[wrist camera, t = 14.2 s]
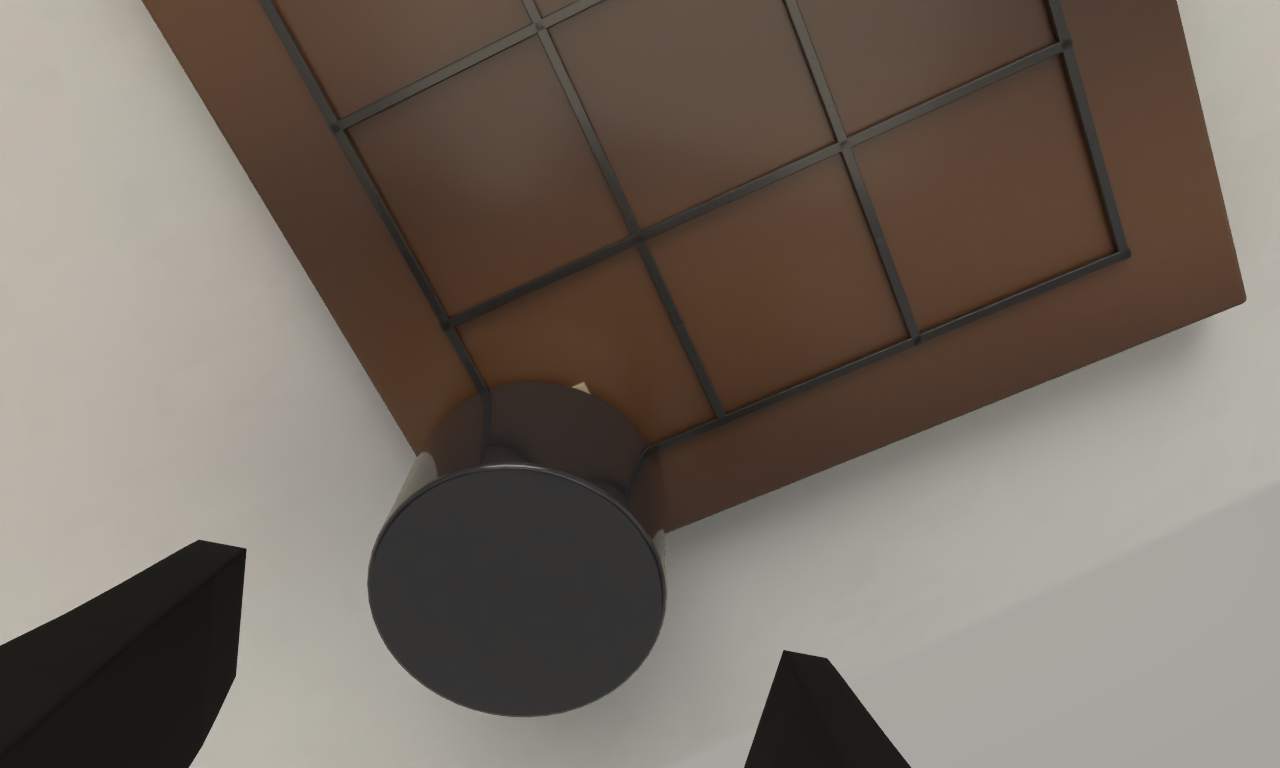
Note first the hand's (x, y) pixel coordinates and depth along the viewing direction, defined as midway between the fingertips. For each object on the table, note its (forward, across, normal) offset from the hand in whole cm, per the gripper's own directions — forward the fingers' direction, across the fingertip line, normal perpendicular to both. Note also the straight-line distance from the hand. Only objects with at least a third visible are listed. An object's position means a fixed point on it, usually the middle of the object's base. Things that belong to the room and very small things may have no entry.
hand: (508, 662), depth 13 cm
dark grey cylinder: (+5, 0, 0) cm, 5 cm away
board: (+6, -1, -7) cm, 10 cm away
